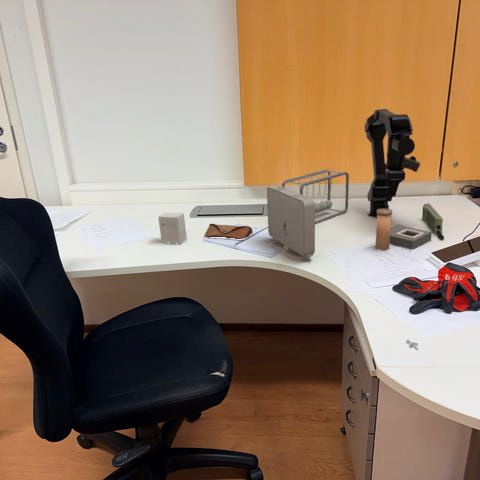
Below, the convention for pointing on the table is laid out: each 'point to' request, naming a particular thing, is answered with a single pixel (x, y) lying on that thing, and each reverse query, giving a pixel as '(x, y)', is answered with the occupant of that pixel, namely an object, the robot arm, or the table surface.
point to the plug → (383, 229)
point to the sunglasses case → (228, 231)
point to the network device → (291, 221)
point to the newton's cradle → (327, 203)
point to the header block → (408, 236)
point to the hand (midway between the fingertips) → (392, 193)
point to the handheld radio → (433, 220)
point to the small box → (172, 227)
